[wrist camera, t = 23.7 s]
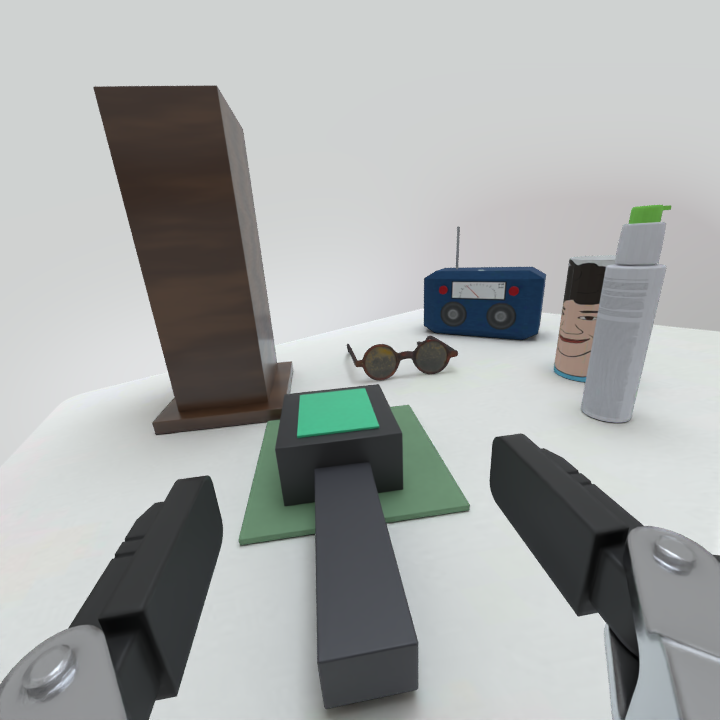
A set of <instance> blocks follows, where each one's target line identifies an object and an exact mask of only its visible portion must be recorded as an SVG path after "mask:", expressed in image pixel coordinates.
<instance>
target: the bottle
mask: <svg viewBox="0 0 720 720" xmlns="http://www.w3.org/2000/svg"><path fill="white" fill-rule="evenodd" d="M670 209H671V206H663V205H651V206H640V207H633V208H632V210H631V215H630V220H629V224H625V225H623V227H622V231H621V235H620V239H619V243H618V248H617V253H616V258H615V263H616V264H613V265H608V266H607V267H606V270H605V275H604V281H603V287H602V292H601V298H600V303H599V309H598V315H597V320H596V326H595V331H594V337H593V343H592V348H591V354H590V359H589V365H588V371H587V376H586V382H585V388H584V393H583V399H582V404H581V409H582V411H583V412H584V413H585V414H586V415H588V416H590V417H592V418H595V419H598V420H602V421H606V422H614V423H622V422H626V421H628V420H630V419H631V416H632V412H633V408H634V403H635V399H636V395H637V391H638V386H639V382H640V378H641V374H642V369H643V365H644V361H645V357H646V352H647V348H648V344H649V340H650V335H651V331H652V327H653V323H654V318H655V314H656V310H657V306H658V302H659V297H660V293H661V289H662V285H663V280H664V276H665V272H666V265H661V264H656V263H659V258H660V254H661V250H662V245H663V239H664V233H665V226H666V223H665V222H660V221H661V216H662V211H663V210H670Z"/></svg>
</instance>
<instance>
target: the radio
mask: <svg viewBox="0 0 720 720" xmlns="http://www.w3.org/2000/svg"><path fill="white" fill-rule="evenodd" d="M459 232H460V227H457V255H456V268H444V269H441V270H438V271H435V272H434V273H432V274H430V275H429V276H427V277H426V278H424V326H425V327H427V328H428V329H430V330H431V331H433V332H434V333H443V334H456V335H468V336H480V337H492V338H505V339H517V340H523V339H526V338H528V337H531V336H533V335H536V334H538V330H539V326H540V320H541V311H542V303H543V296H544V287H545V279H546V274H544V273H543V272H541V271H539V270H537V269H536V268H534V267H489V268H488V267H484V268H483V267H481V268H458V257H459Z"/></svg>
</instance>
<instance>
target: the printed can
mask: <svg viewBox="0 0 720 720" xmlns="http://www.w3.org/2000/svg"><path fill="white" fill-rule="evenodd" d="M615 258H616V256H585V257H574V258H570V260H569V268H568V275H567V282H566V288H565V295H564V302H563V309H562V316H561V323H560V330H559V337H558V343H557V350H556V357H555V364H554V372H555V373H556V374H558V375H560V376H562V377H564V378H567V379H571V380H575V381H580V382H586V376H587V371H588V365H589V359H590V354H591V348H592V343H593V337H594V331H595V326H596V320H597V315H598V309H599V303H600V298H601V292H602V287H603V281H604V275H605V270H606V267H607V266H608V265H613V264H616V263H615Z"/></svg>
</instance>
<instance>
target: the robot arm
mask: <svg viewBox="0 0 720 720" xmlns="http://www.w3.org/2000/svg"><path fill="white" fill-rule="evenodd" d="M490 488H491V492H492V495H493V498H494V500H495V502H496V503H497V505H498V506H499V508H500V509H501V510H502V512H503V513H504V515H505V516H506V517H507V519H508V520H509V522H510V523H511V524H512V526H513V527H514V528H515V530H516V531H517V533H518V534H519V535H520V537H521V538H522V540H523V541H524V542H525V544H526V545H527V546H528V548H529V549H530V551H531V552H532V553H533V555H534V556H535V558H536V559H537V560H538V562H539V563H540V564H541V566H542V567H543V569H544V570H545V571H546V573H547V574H548V576H549V577H550V578H551V580H552V581H553V582H554V584H555V585H556V587H557V588H558V589H559V591H560V592H561V594H562V595H563V596H564V598H565V599H566V600H567V602H568V603H569V605H570V606H571V607H572V609H573V610H574V612H575V613H576V614H577V616H583V615H588V614H593V613H599V614H600V615H601V617H602V618H603V619H604V621H605V622H606V624H605V628H604V639H605V649H606V659H607V669H608V679H609V689H610V699H611V709H612V719H613V720H720V556H719V555H712V554H711V553H710V552H708V551H707V550H706V549H705V548H703V547H702V546H700V545H699V544H697V543H696V542H694V541H692V540H691V539H689V538H687V537H685V536H683V535H681V534H678V533H676V532H673V531H670V530H667V529H664V528H659V527H653V526H643V525H642V524H641V523H640V522H639V521H637V520H636V519H635V518H634V517H633V516H631V515H630V514H629V513H628V512H627V511H625V510H624V509H623V508H622V507H621V506H620V505H618V504H617V503H616V502H615V501H614V500H612V499H611V498H610V497H609V496H608V495H606V494H605V493H604V492H603V491H602V490H601V489H599V488H598V487H597V486H596V485H595V484H591V481H590V480H589V479H587V478H586V477H585V476H584V475H583V474H582V473H579V472H578V470H577V469H576V468H574V467H573V466H572V465H571V464H570V463H568V462H567V461H566V460H565V459H564V458H562V457H560V456H558V455H556V454H554V453H552V452H550V451H548V450H546V449H544V448H543V449H540V448H539V447H538V446H537V445H536V444H534V443H533V442H532V441H531V440H530V439H529V438H528V437H527V436H525V435H524V434H514V435H507V436H500V437H495V438H494V440H493V444H492V457H491V470H490ZM222 537H223V524H222V518H221V514H220V510H219V506H218V502H217V498H216V494H215V490H214V486H213V482H212V480H211V478H210V476H200V477H193V478H186V479H179V480H177V481H176V482H175V483H174V485H173V487H172V489H171V490H170V492H169V494H168V496H167V498H166V499H165V501H164V502H158V503H155V504H154V505H152V506H151V507H150V508H149V509H148V510H147V511H146V512H145V513H144V514H143V515H141V516H140V517H139V518H138V519H137V520H136V522H135V523H134V525H133V527H132V528H131V530H130V531H129V533H128V534H127V536H126V538H125V542H122V544H121V546H120V547H119V549H118V550H117V552H116V554H115V558H114V559H112V560H111V561H110V563H109V565H108V566H107V568H106V569H105V571H104V573H103V574H102V576H101V577H100V579H99V581H98V582H97V584H96V585H95V587H94V588H93V590H92V592H91V593H90V595H89V596H88V598H87V600H86V601H85V603H84V604H83V606H82V607H81V609H80V611H79V612H78V614H77V615H76V617H75V619H74V620H73V622H72V623H71V625H70V626H69V628H68V629H66V630H64V631H62V632H60V633H57V634H56V635H54V636H52V637H50V638H49V639H47V640H45V641H44V642H42V643H41V644H40V645H38V646H37V647H36V648H34V649H33V650H32V651H30V652H29V653H28V654H27V655H26V656H25V657H24V658H23V659H21V660H20V661H19V662H18V663H17V665H16V666H15V667H14V668H13V669H12V670H11V671H10V672H9V674H8V675H7V676H6V677H5V678H4V680H3V681H2V683H1V684H0V720H149V717H150V714H151V711H152V708H153V705H154V702H155V701H156V700H161V699H166V698H171V697H175V696H177V694H178V691H179V687H180V684H181V680H182V677H183V674H184V670H185V667H186V663H187V660H188V657H189V653H190V650H191V646H192V643H193V640H194V636H195V633H196V630H197V626H198V623H199V619H200V616H201V613H202V609H203V606H204V602H205V599H206V596H207V592H208V589H209V585H210V582H211V579H212V575H213V572H214V568H215V565H216V562H217V558H218V555H219V552H220V548H221V544H222Z"/></svg>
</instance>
